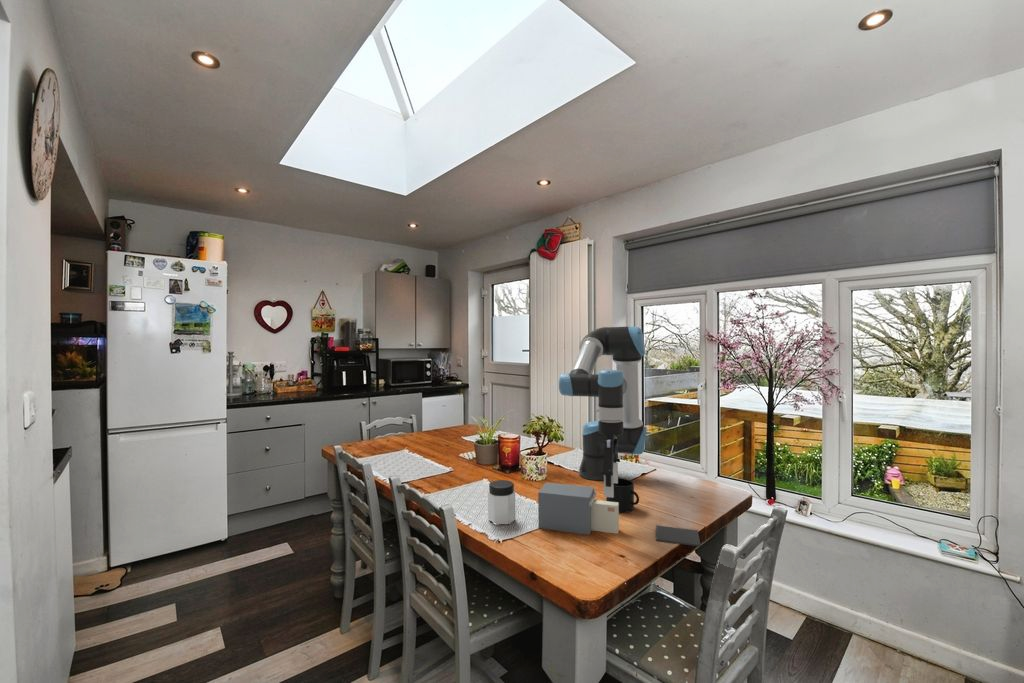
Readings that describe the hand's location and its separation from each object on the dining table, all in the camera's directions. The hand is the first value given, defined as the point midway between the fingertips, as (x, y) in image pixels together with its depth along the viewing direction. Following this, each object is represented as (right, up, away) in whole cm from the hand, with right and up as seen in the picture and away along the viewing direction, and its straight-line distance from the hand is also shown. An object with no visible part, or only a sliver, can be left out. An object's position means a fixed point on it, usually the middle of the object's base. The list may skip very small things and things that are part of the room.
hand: (611, 489), depth 134 cm
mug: (+8, -13, +18) cm, 23 cm away
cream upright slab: (-4, -13, +2) cm, 14 cm away
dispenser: (-13, -13, +5) cm, 19 cm away
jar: (-34, -13, +9) cm, 37 cm away
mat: (+19, -13, -4) cm, 23 cm away
